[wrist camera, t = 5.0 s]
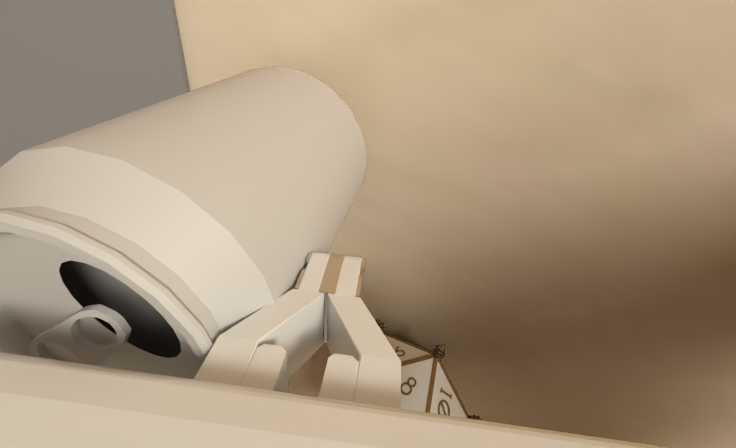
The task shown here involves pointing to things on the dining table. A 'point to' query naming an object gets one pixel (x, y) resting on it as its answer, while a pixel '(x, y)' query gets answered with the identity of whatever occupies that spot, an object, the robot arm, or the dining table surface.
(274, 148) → the can
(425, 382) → the game die
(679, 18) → the dining table surface
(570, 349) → the dining table surface
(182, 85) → the mat
